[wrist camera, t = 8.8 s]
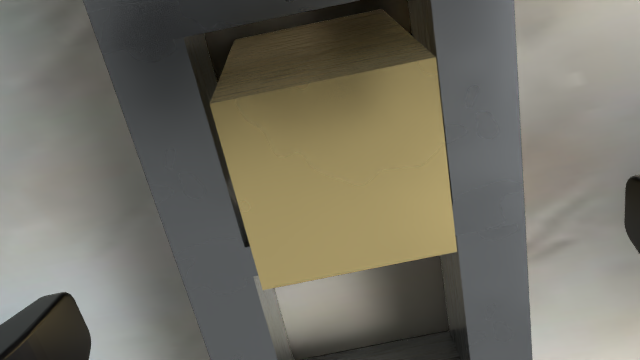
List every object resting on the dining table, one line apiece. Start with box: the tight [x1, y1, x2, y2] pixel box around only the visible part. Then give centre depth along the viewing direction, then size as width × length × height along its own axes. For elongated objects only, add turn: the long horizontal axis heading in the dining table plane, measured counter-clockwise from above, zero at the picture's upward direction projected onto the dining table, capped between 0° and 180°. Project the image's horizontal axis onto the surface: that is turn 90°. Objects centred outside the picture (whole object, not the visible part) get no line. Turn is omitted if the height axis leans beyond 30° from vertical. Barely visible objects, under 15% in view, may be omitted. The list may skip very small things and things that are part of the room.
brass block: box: [210, 9, 457, 290], centre depth 15 cm, size 4×4×6 cm
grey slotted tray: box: [83, 0, 532, 360], centre depth 16 cm, size 10×24×3 cm, turn 11°
